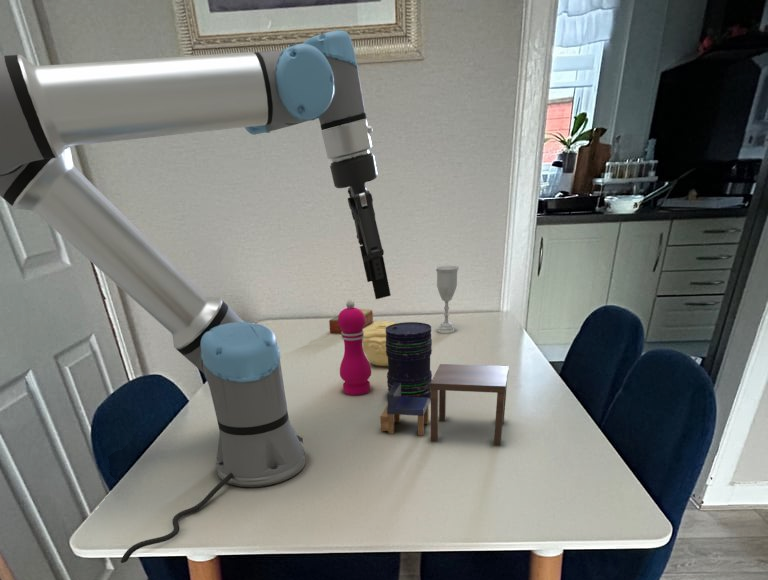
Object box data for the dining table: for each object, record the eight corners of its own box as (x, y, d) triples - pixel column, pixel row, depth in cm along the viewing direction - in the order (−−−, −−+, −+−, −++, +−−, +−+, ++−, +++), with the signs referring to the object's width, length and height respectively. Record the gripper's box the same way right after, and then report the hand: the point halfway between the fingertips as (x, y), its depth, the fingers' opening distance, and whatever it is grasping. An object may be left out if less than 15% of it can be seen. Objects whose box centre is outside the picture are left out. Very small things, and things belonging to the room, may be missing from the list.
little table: (500, 445, 98) (505, 386, 92) (430, 441, 101) (430, 383, 95) (504, 421, 107) (508, 366, 101) (439, 418, 110) (439, 363, 103)
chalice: (431, 329, 168) (431, 267, 159) (451, 326, 170) (452, 264, 160) (440, 335, 162) (441, 270, 153) (461, 332, 164) (463, 268, 154)
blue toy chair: (380, 433, 105) (378, 393, 100) (388, 420, 110) (386, 382, 106) (423, 435, 103) (423, 395, 99) (429, 422, 108) (429, 383, 104)
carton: (373, 322, 180) (372, 308, 177) (353, 334, 167) (352, 320, 165) (351, 320, 182) (350, 307, 180) (329, 333, 170) (328, 319, 168)
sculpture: (359, 369, 138) (356, 326, 132) (371, 355, 148) (369, 314, 142) (402, 370, 136) (401, 327, 130) (412, 356, 145) (411, 315, 140)
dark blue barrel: (435, 389, 123) (436, 322, 115) (427, 405, 116) (426, 334, 107) (394, 387, 126) (391, 321, 118) (382, 402, 118) (379, 333, 110)
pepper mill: (368, 396, 122) (362, 303, 111) (337, 395, 123) (328, 304, 112) (375, 385, 128) (370, 296, 117) (345, 384, 129) (338, 296, 118)
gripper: (382, 152, 79) (408, 299, 91) (365, 148, 99) (388, 269, 111) (333, 166, 79) (366, 310, 91) (325, 159, 99) (353, 278, 111)
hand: (378, 288), depth 101 cm, fingers open, 13 cm apart
